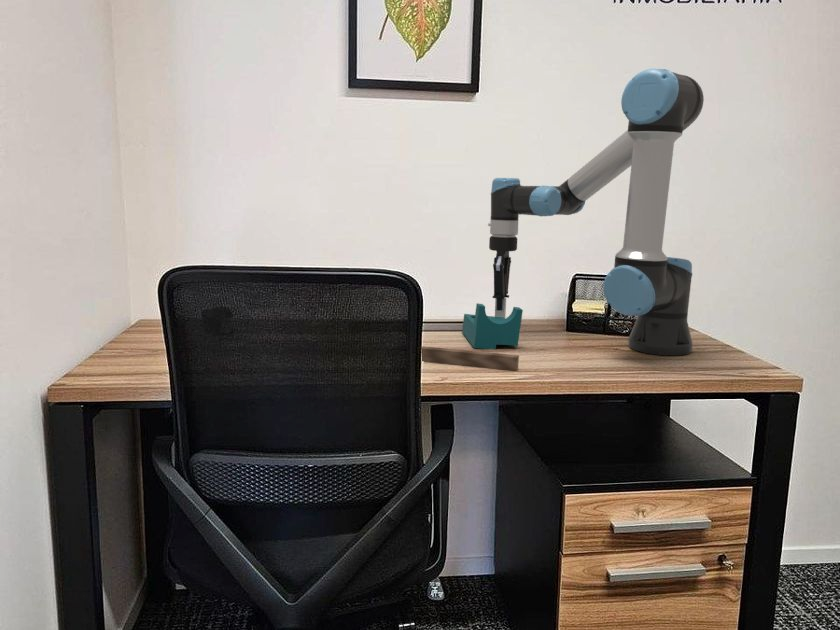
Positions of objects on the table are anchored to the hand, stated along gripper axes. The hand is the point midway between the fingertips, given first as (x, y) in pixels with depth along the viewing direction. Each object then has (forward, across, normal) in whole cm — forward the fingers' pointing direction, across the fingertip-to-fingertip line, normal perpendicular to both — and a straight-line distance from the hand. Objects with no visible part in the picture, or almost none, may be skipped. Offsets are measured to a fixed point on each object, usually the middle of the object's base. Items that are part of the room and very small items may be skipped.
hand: (499, 321), depth 191 cm
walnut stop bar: (+2, +40, +1) cm, 40 cm away
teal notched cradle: (+3, +15, 0) cm, 15 cm away
